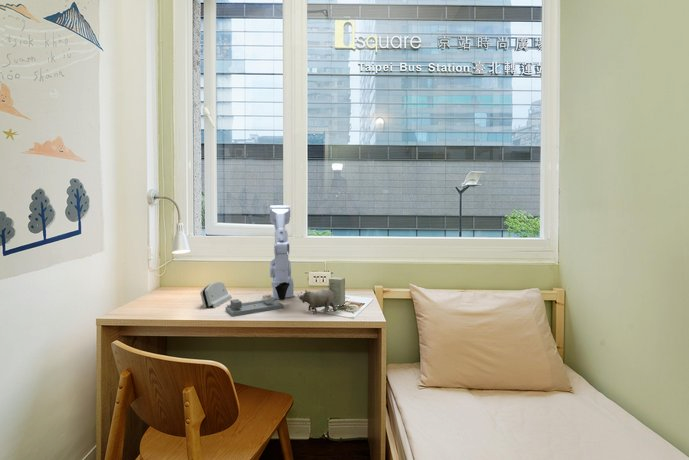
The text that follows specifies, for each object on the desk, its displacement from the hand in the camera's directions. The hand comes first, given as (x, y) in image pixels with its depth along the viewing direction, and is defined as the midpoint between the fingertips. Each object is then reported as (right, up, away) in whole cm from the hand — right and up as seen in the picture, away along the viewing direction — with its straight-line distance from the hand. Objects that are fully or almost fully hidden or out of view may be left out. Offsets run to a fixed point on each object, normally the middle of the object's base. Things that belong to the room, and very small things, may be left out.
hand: (281, 299), depth 164 cm
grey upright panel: (-30, -2, +3) cm, 30 cm away
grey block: (-5, -1, -3) cm, 6 cm away
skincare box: (+24, -3, +1) cm, 25 cm away
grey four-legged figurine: (+16, -4, -8) cm, 18 cm away
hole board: (-10, -3, -7) cm, 13 cm away
